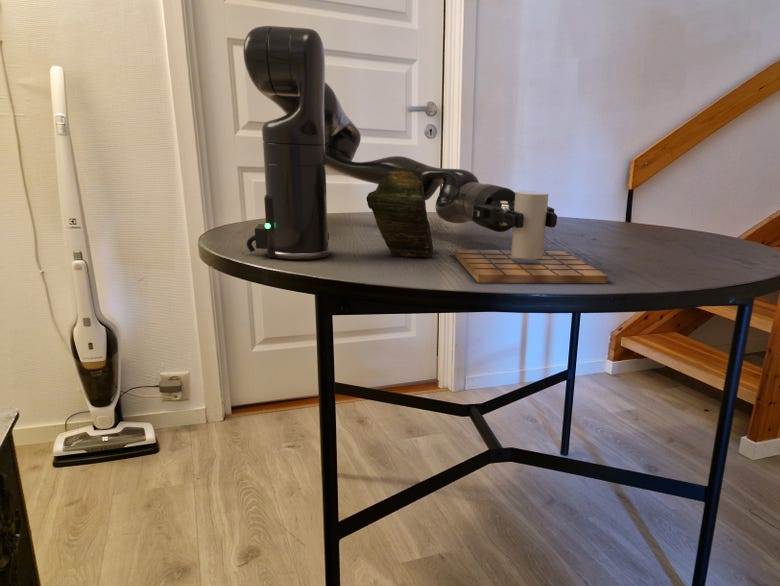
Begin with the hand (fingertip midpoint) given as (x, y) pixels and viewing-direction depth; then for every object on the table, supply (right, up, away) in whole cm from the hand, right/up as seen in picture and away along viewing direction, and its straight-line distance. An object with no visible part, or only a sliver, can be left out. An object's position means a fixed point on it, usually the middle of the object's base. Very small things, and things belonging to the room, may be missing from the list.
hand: (537, 220), depth 95 cm
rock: (-22, -4, +11) cm, 25 cm away
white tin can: (-1, -5, +4) cm, 7 cm away
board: (-2, -7, +5) cm, 8 cm away
